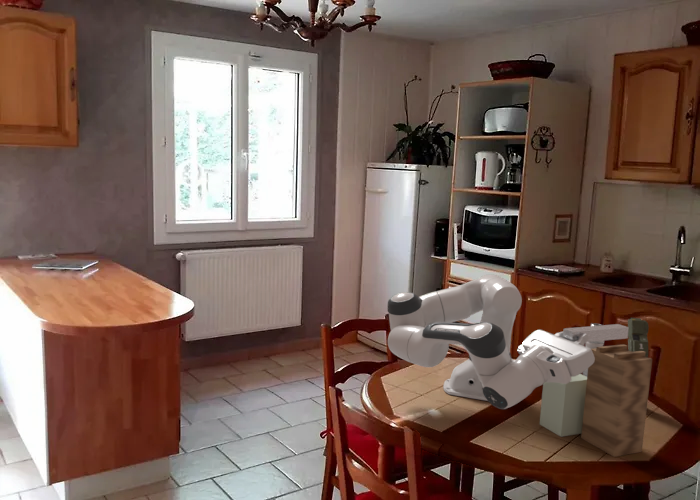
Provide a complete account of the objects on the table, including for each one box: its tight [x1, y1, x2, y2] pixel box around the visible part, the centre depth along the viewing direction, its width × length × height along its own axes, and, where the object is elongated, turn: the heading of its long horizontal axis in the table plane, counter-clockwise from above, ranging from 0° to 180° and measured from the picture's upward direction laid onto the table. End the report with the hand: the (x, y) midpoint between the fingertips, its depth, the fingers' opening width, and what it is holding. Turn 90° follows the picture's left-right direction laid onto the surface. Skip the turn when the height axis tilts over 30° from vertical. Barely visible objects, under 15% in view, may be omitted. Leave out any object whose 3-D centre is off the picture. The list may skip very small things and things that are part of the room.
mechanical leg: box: [627, 317, 649, 358], centre depth 202 cm, size 14×7×30 cm, turn 169°
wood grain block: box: [580, 343, 653, 458], centre depth 172 cm, size 10×12×27 cm
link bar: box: [562, 323, 629, 342], centre depth 164 cm, size 19×4×3 cm, turn 113°
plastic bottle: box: [582, 322, 605, 377], centre depth 230 cm, size 6×7×20 cm
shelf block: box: [539, 373, 587, 437], centre depth 183 cm, size 12×9×16 cm
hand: (579, 333), depth 162 cm, fingers closed on link bar, 3 cm apart
